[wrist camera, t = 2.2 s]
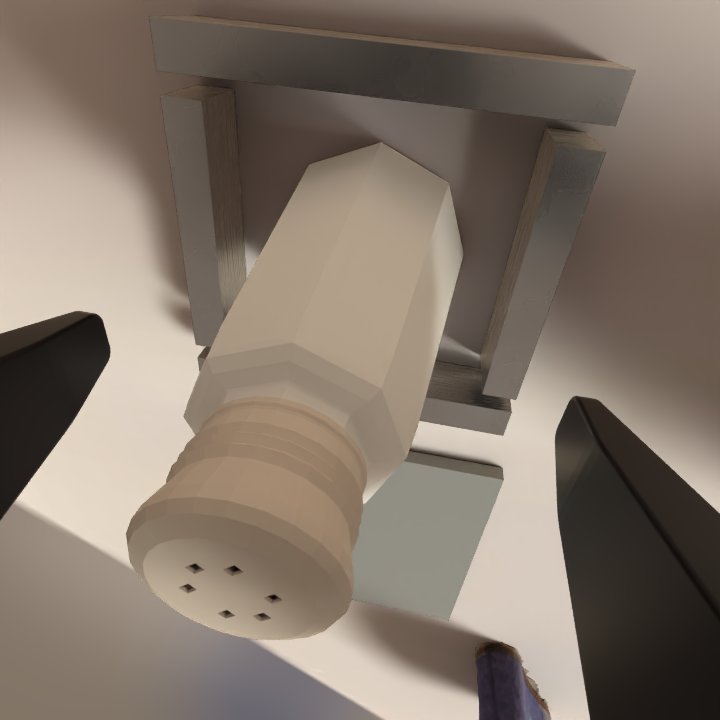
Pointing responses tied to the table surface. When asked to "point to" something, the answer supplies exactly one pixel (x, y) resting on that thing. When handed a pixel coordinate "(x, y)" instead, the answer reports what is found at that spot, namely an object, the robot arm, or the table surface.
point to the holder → (399, 82)
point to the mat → (423, 533)
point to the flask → (506, 686)
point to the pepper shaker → (305, 401)
